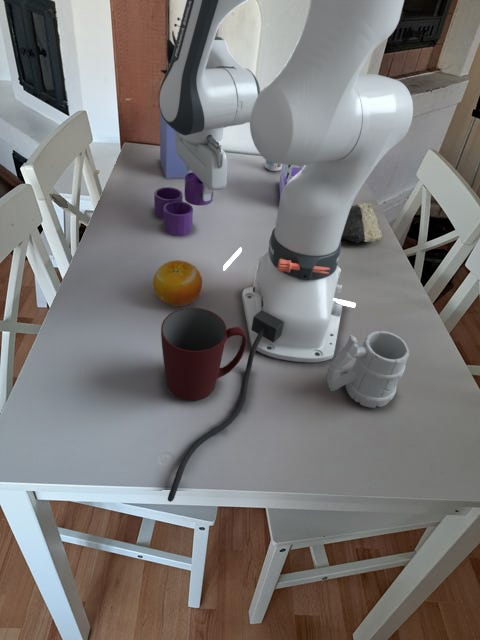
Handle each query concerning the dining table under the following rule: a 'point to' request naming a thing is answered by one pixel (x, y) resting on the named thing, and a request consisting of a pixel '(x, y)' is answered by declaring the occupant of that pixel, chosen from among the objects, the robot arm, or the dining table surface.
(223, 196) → the dining table surface
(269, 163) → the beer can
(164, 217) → the dish
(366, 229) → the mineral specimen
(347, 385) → the mug
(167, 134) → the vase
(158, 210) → the purple cup
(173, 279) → the fruit
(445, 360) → the dining table surface
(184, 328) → the mug
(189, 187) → the purple short cylinder
